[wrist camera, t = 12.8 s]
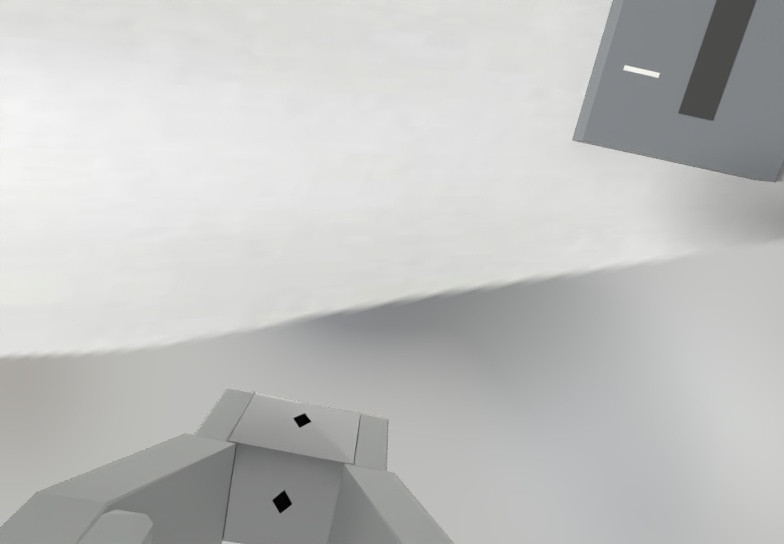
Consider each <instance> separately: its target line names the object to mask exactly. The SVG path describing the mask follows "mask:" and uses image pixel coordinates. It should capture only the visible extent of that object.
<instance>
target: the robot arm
mask: <svg viewBox="0 0 784 544" xmlns="http://www.w3.org/2000/svg"><path fill="white" fill-rule="evenodd" d="M387 447H388V418H387V417H384V416H377V415H370V414H364V413H361V415H360V413H359V412H353V411H347V410H341V409H335V408H329V407H323V406H316V405H311V404H308V403H303V402H298V401H294V400H289V399H284V398H280V397H274V396H270V395H266V394H261V393H255V392H253V391H247V390H242V389H236V388H227V389H226V390H225V391H224V392H223V394H222V395H221V396H220V398H219V399H218V401H217V402H216V403H215V405H214V406H213V408H212V409H211V411H210V412H209V413H208V415H207V416H206V418H205V419H204V421H203V422H202V424H201V425H200V426H199V428H198V429H197V431H196V432H195V434H194V435H191V434H183V435H180V436H178V437H175V438H173V439H170V440H168V441H165V442H163V443H160V444H157V445H155V446H152V447H150V448H147V449H145V450H142V451H140V452H137V453H135V454H132V455H130V456H127V457H125V458H122V459H119V460H117V461H114V462H112V463H109V464H107V465H104V466H102V467H99V468H97V469H94V470H92V471H89V472H86V473H84V474H82V475H79V476H76V477H74V478H71V479H69V480H66V481H64V482H61V483H59V484H56V485H54V486H51V487H48V488H46V489H43V490H41V491H39V492H36V493H35V494H34V495H33V496H32V497H31V498H30V499H29V500H28V501H27V502H26V503H25V504H24V505H23V506H22V507H21V508H20V509H19V510H18V511H17V512H16V513H15V514H14V515H12V516H11V517H10V518H9V520H8V521H6V522H5V523H4V524H3V525H2V526H1V527H0V544H221V543H222V541H230V542H236V543H242V544H454V543H453V541H452V540H451V539H450V538H449V537H448V535H447V534H446V533H445V532H444V531H443V530H442V528H441V527H440V526H439V525H438V524H437V522H436V521H435V520H434V519H433V518H432V516H431V515H430V514H429V513H428V512H427V511H426V509H425V508H424V507H423V506H422V505H421V504H420V502H419V501H418V500H417V499H416V498H415V496H414V495H413V494H412V493H411V492H410V491H409V489H408V488H407V487H406V486H405V484H404V483H403V482H402V481H401V480H400V479H399V478H398V476H397V475H396V474H395V473H393V472H388V471H387V449H388V448H387Z"/></svg>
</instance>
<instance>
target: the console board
mask: <svg viewBox="0 0 784 544" xmlns="http://www.w3.org/2000/svg"><path fill="white" fill-rule="evenodd" d="M573 140H574V141H578V142H583V143H587V144H592V145H597V146H601V147H606V148H610V149H615V150H620V151H624V152H629V153H633V154H638V155H643V156H647V157H652V158H656V159H661V160H666V161H670V162H675V163H679V164H684V165H689V166H693V167H698V168H702V169H707V170H711V171H716V172H721V173H725V174H730V175H734V176H739V177H744V178H748V179H753V180H760V181H769V182H775V181H776V179H777V176H778V174H779V171H780V169H781V166H782V164H783V161H784V0H613V2H612V6H611V9H610V13H609V16H608V20H607V23H606V26H605V30H604V33H603V37H602V40H601V44H600V47H599V50H598V54H597V57H596V61H595V64H594V68H593V71H592V75H591V78H590V81H589V85H588V88H587V92H586V95H585V99H584V102H583V105H582V109H581V112H580V116H579V119H578V123H577V126H576V129H575V133H574V136H573Z"/></svg>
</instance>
